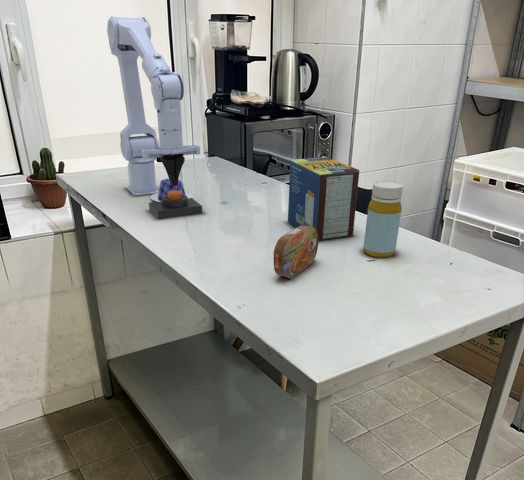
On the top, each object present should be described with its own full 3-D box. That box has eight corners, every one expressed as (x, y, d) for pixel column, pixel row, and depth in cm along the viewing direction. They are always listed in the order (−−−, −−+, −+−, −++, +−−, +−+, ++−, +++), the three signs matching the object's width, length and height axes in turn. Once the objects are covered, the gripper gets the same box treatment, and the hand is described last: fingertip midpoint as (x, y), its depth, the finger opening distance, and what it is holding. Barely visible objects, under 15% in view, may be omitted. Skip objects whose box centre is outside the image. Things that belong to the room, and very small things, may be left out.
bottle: (376, 260, 116) (385, 190, 109) (356, 249, 122) (364, 182, 114) (401, 255, 119) (412, 186, 111) (381, 245, 125) (390, 178, 117)
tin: (283, 284, 105) (285, 243, 101) (269, 280, 107) (270, 239, 102) (318, 260, 116) (321, 221, 112) (305, 257, 117) (307, 219, 113)
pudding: (195, 204, 149) (194, 185, 147) (151, 206, 147) (149, 186, 145) (191, 192, 159) (190, 174, 157) (150, 194, 157) (148, 176, 155)
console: (158, 219, 138) (156, 204, 136) (149, 210, 144) (147, 195, 142) (202, 213, 142) (201, 198, 140) (191, 205, 149) (191, 191, 146)
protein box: (322, 217, 141) (327, 156, 133) (353, 236, 129) (360, 170, 121) (286, 222, 138) (289, 159, 130) (315, 242, 126) (319, 173, 118)
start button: (170, 201, 139) (169, 194, 138) (166, 197, 142) (165, 191, 141) (183, 199, 141) (183, 193, 140) (179, 196, 143) (178, 189, 142)
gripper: (145, 133, 127) (151, 191, 134) (203, 129, 132) (205, 186, 139) (137, 128, 132) (143, 185, 139) (193, 125, 138) (196, 179, 145)
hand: (174, 185), depth 140 cm, fingers closed
